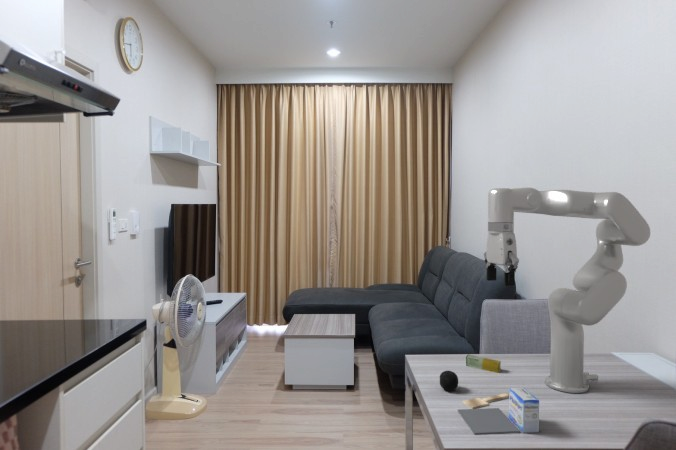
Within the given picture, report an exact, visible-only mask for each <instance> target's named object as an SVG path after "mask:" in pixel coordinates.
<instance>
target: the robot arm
mask: <svg viewBox="0 0 676 450" xmlns="http://www.w3.org/2000/svg"><path fill="white" fill-rule="evenodd" d="M487 193H488V195H487V196H488V198H487V241H486V251H485V252H484V253H483V257H484V263H485V268H486V281H490V282H491V281H496V280H497V267H496V266H497V265H498V266H503V269H504V271H505V272H504V273H503V275H504V276H503V285H504V286H506V287H511V286H514V287H515V283H516V280H515V277H516V273H517V269H518V265H519V262H520V259H519V258H518V254H517V253H518V251H517V240H516V234H515V233H514V229H515V227H514V226H515V223H514V222H515V220H514V219H515V213H524V214H525V213H526V214H536V215H537V214H538V215H545V216H553V217H563V218H564V217H566V218H581V219H595V220H597V219H598V220H599V219H600V220H601V221H600V222H599V223H598V224H597V226H596V228H595V235H596V236H595V237H596V246H597V247H596V250H595V252H594V253H593V254H592V256H591V257H590V258H589V259H588V260H587V261H586V262H585V264H583V266H581V268H579V270H578V271H577V272H576V273H575V274H574V276H573V279H572V284H573V288H575V289H571V288H568V287H567V288H566V287H561V288H557V289H554V290H553V291H551V293H550V294H549V295H548V299H547V308H548V313H549V319H550V363H549V364H550V368H549V369H550V370H549V371H550V373H549V374H550V375H547V376H546V377H545V379H544V383H545V385H547V386H548V387H550V388H551V389H554V390H556V391H560V392H563V393H569V394H570V393H572V394H583V393H587V392H588V391H589V389H590V387H589V386H590V385H589V384H588V382H590V381H598V380H599V376H598V374H590V373H589V372H588V371H587V372H586V371H585V372H584V364H585V362H584V357H585V354H584V349H585V346H584V345H585V344H584V343H585V333H584V328H583V327H584V326H594V325H597V324H599V323H600V322H601V321H602V320H603V319H604V318H605V317H606V316H607V315H608V314H610V313H609V312H611V311H612V310H613V309H614V307H616V305H617V304H618V303H619V302H620V301H621V300H622V299H623V297H624V296H625V294H626V291H627V285H628V284H627V279H626V277H625V275H624V274H623V273H621V272H620V269H621V268H622V266H623V265H624V254H623V249H622V246H629V247H638V246H642V245H644V244H646V243H647V242H648V241H649V240H650V237H651V227H650V225H649V223H648V221H646V220H647V219H645V218H644V217H643V215H642V214H641V213H640V212H639V210H638V209H637V208H636V207H635V205H634V204H633V203H632V202H631V201H630V200H629V199H628V197H626V196H624V194H623V193H622V194H621V193H619V192H618V191H617V192H616V191H609V192H607V191H606V192H604V191H603V192H596V191H595V192H592V191H580V190H570V189H551V190H538V189H537V188H533V187H517V188H515V187H514V188H509V187H508V188H505V187H503V188H501V187H499V188H498V187H497V188H491V189H490V190H489V191H488V192H487ZM583 325H584V326H583Z"/></svg>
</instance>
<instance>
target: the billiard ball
mask: <svg viewBox="0 0 676 450" xmlns="http://www.w3.org/2000/svg"><path fill="white" fill-rule="evenodd" d="M438 381H439V385H440V387H441V388H442V389H444V390H445V391H449V392H452V391H454V390H456V389H457V388H458V385H459V377H458V375H457V373H455V372H454V371H452V370H444V371H442V372H441V373H440V375H439V378H438Z"/></svg>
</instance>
